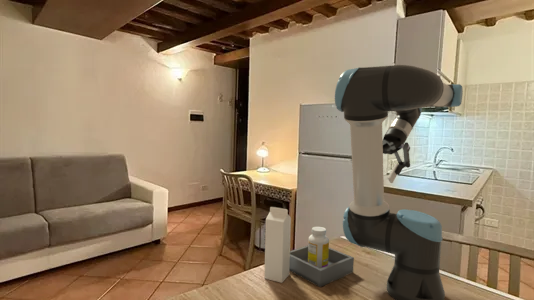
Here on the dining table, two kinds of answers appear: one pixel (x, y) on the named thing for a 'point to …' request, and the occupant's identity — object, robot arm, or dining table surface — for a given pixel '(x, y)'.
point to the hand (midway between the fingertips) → (372, 177)
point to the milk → (277, 244)
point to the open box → (336, 268)
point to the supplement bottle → (318, 247)
